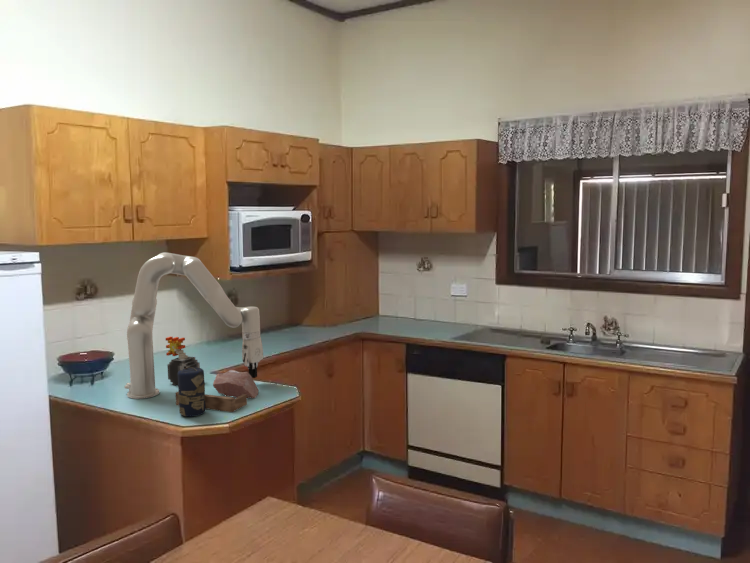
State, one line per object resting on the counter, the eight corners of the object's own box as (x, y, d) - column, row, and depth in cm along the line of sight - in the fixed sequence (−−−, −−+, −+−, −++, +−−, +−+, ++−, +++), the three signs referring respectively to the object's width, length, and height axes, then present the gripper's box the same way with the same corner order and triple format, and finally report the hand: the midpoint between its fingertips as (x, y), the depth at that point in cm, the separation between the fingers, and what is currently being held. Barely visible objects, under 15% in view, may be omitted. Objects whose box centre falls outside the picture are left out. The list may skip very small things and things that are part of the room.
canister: (188, 420, 239) (186, 371, 237) (174, 414, 246) (172, 367, 243) (211, 413, 246) (208, 366, 244) (196, 408, 253) (194, 362, 250)
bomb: (189, 386, 282) (186, 341, 280) (164, 383, 288) (161, 338, 285) (200, 382, 290) (198, 337, 287) (176, 379, 295) (174, 335, 292)
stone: (225, 369, 280) (206, 378, 269) (265, 372, 271) (247, 382, 260) (228, 387, 281) (208, 397, 270) (267, 391, 272) (249, 401, 261)
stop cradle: (176, 405, 257) (175, 392, 256) (192, 397, 266) (191, 385, 266) (232, 412, 247) (231, 399, 247) (247, 404, 257) (246, 392, 256)
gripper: (249, 339, 274) (251, 382, 276) (268, 332, 287) (269, 373, 290) (234, 338, 276) (235, 381, 279) (253, 331, 290) (254, 372, 292)
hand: (253, 377), depth 284 cm, fingers closed
